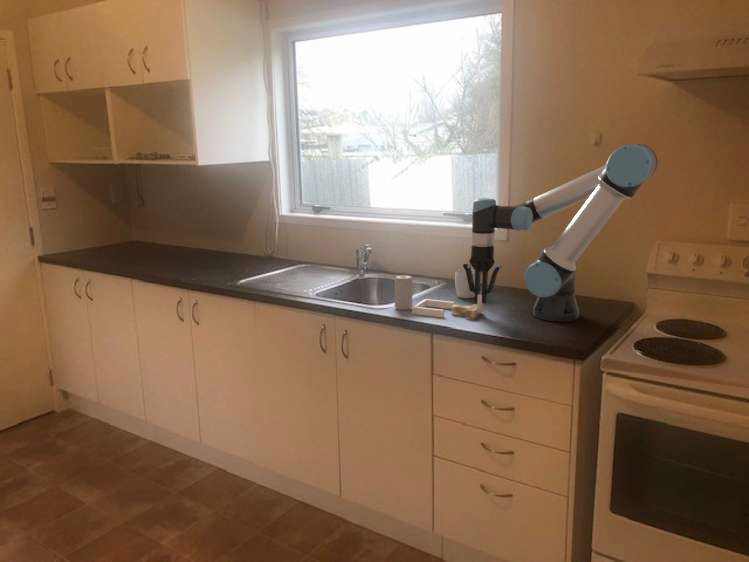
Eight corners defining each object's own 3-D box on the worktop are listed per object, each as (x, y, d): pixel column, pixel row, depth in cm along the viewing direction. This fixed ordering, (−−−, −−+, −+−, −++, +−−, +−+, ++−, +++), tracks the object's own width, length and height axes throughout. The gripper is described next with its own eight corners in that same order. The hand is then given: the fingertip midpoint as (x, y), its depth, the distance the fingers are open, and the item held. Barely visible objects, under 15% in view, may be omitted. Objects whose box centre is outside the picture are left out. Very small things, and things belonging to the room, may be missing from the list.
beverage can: (411, 306, 229) (411, 274, 226) (413, 311, 223) (413, 278, 220) (394, 306, 229) (394, 275, 226) (395, 311, 223) (395, 278, 220)
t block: (481, 313, 219) (481, 304, 218) (474, 319, 211) (474, 311, 211) (457, 310, 223) (457, 302, 222) (448, 316, 215) (449, 308, 214)
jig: (454, 308, 225) (454, 302, 225) (443, 317, 214) (443, 310, 214) (424, 305, 230) (425, 299, 229) (412, 314, 219) (412, 307, 218)
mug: (470, 300, 236) (471, 275, 234) (450, 297, 242) (450, 272, 239) (486, 294, 246) (487, 269, 244) (467, 291, 251) (467, 266, 249)
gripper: (504, 244, 210) (501, 311, 215) (467, 241, 215) (465, 307, 221) (498, 247, 203) (495, 317, 208) (460, 245, 209) (458, 312, 214)
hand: (480, 311), depth 214 cm, fingers closed
